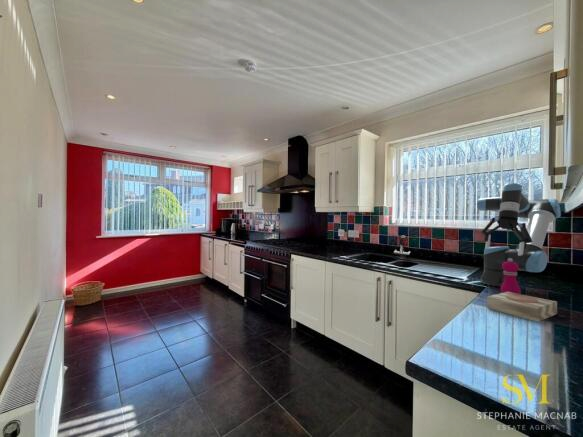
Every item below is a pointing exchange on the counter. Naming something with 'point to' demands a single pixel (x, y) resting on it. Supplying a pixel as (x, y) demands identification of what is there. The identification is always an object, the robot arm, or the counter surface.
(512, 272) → the pepper mill
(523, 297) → the birch stand
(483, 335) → the counter surface
